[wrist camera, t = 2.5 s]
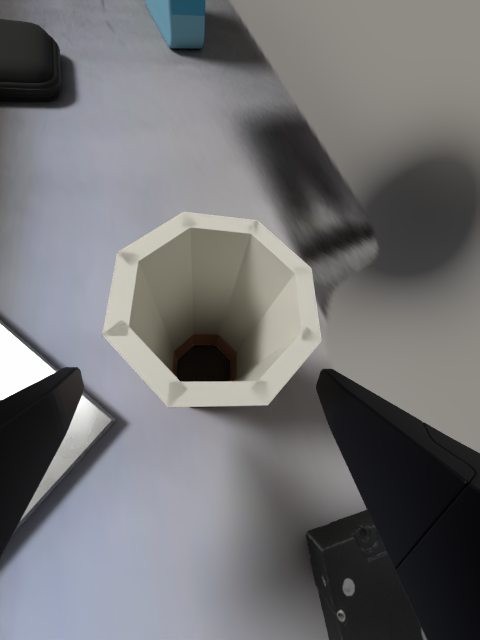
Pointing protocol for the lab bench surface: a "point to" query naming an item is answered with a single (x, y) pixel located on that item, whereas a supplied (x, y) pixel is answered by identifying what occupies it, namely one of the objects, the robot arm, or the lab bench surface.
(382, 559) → the disk drive
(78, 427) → the pin plate
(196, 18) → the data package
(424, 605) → the robot arm
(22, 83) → the carrying case or bag
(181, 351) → the sleeve
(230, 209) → the lab bench surface
